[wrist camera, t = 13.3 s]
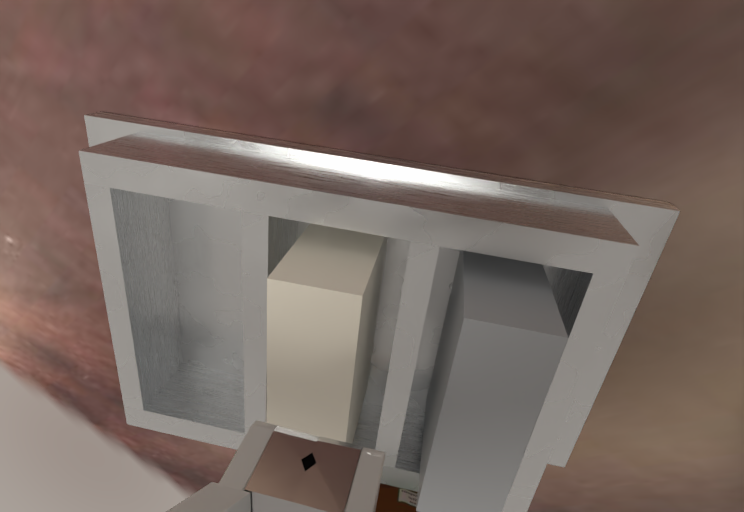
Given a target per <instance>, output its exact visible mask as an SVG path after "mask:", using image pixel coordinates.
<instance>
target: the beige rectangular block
mask: <svg viewBox="0 0 744 512" xmlns="http://www.w3.org/2000/svg"><path fill="white" fill-rule="evenodd" d="M387 239H388V237H385V236H379V235H373V234H368V233H362V232H357V231H351V230H345V229H340V228H334V227H328V226H323V225H317V224H311V223H310V224H309V225H308V227H307V228H306V229H305V230H304V232H303V233H302V234H301V236H300V237H299V238H298V239H297V241H296V242H295V243H294V245H293V246H292V247H291V248H290V250H289V251H288V252H287V253H286V255H285V256H284V257H283V259H282V260H281V261H280V262H279V264H278V265H277V266H276V268H275V269H274V270H273V271H272V273H271V274H270V275H269V277H268V278H267V410H266V423H270V424H273V425H277V426H281V427H285V428H288V429H292V430H295V431H299V432H303V433H306V434H310V435H313V436H317V437H320V436H321V437H325V438H330V439H334V440H338V441H343V442H347V443H351V444H353V440H354V436H355V432H356V428H357V424H358V421H359V417H360V413H361V409H362V405H363V402H364V398H365V394H366V390H367V386H368V379H369V372H370V364H371V357H372V350H373V342H374V335H375V328H376V320H377V313H378V306H379V298H380V291H381V283H382V276H383V269H384V261H385V254H386V247H387Z"/></svg>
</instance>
